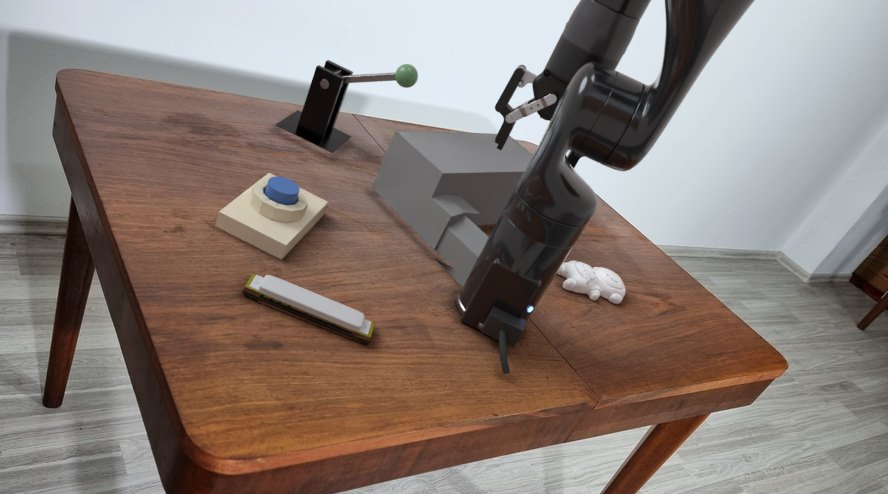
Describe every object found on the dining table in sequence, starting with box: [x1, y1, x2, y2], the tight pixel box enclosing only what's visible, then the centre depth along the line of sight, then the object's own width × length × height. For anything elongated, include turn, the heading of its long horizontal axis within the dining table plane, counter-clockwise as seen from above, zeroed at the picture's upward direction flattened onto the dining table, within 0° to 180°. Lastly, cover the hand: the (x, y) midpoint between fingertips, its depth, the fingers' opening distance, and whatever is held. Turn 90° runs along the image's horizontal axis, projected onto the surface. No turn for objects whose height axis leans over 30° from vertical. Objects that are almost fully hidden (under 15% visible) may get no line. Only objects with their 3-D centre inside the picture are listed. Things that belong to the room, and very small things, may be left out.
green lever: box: [332, 63, 419, 89], centre depth 107 cm, size 15×3×3 cm, turn 73°
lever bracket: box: [275, 59, 354, 154], centre depth 111 cm, size 10×9×12 cm
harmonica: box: [241, 273, 376, 345], centre depth 77 cm, size 15×3×2 cm, turn 80°
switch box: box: [214, 172, 329, 260], centre depth 89 cm, size 14×9×4 cm, turn 162°
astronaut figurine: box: [556, 260, 627, 305], centre depth 107 cm, size 9×12×3 cm
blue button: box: [265, 175, 300, 205], centre depth 88 cm, size 4×4×2 cm
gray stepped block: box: [372, 129, 534, 288], centre depth 105 cm, size 25×23×11 cm
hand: (529, 162), depth 92 cm, fingers open, 8 cm apart
